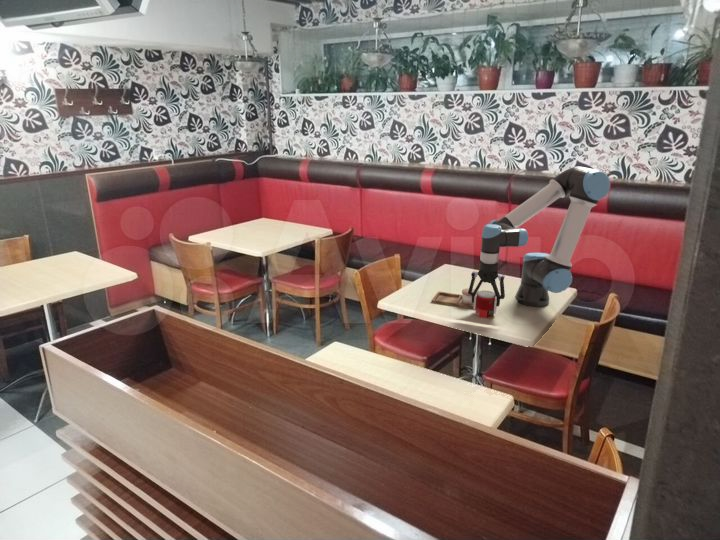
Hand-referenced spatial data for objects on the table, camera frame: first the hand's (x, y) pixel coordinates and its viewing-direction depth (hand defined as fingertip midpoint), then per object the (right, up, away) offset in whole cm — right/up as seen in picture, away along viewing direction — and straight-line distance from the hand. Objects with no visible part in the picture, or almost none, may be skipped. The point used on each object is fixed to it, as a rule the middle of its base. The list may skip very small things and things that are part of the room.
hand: (484, 311), depth 233 cm
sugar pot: (-4, +3, +13) cm, 14 cm away
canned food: (0, -3, +1) cm, 3 cm away
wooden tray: (-9, +2, +15) cm, 18 cm away
